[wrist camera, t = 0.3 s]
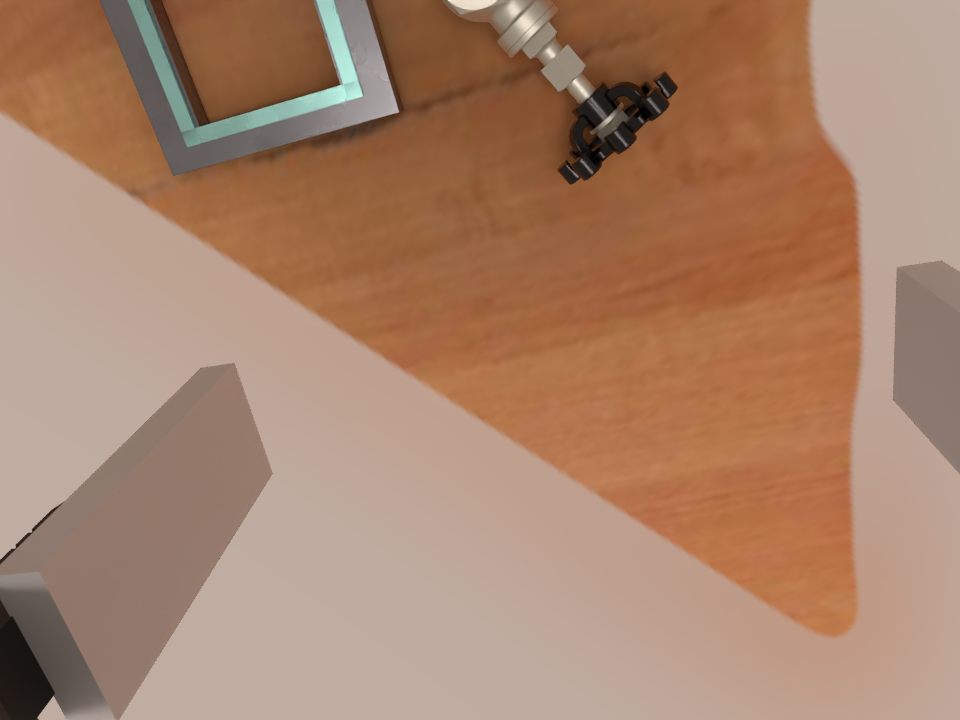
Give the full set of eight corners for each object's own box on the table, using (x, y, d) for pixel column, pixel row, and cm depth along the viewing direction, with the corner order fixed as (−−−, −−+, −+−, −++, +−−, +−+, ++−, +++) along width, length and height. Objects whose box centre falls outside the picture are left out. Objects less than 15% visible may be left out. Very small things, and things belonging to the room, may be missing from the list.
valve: (409, -7, 37) (569, 173, 40) (381, -13, 31) (571, 199, 34) (506, -116, 35) (668, 82, 38) (496, -146, 29) (689, 93, 32)
